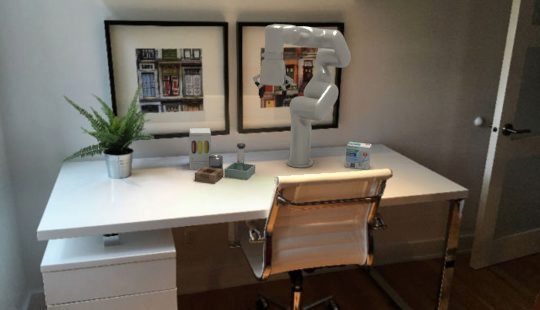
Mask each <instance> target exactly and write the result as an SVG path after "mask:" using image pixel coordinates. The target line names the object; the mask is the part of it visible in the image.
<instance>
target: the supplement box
mask: <svg viewBox="0 0 540 310" xmlns="http://www.w3.org/2000/svg"><path fill="white" fill-rule="evenodd" d="M188 132H189V137H188V139H189V140H188V141H189V142H188V144H189V145H188V149H189V151H188V154H189V155H188V156H189V157H188V158H189V163H188V164H189V169H190V170H200V169H201V168H203V167H209V156H211V155H212V132H211V129H210V127H202V128H201V127H200V128H199V127H196V128H195V127H192V128H191V127H190V128H189V130H188Z"/></svg>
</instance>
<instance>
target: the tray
mask: <svg viewBox="0 0 540 310" xmlns="http://www.w3.org/2000/svg"><path fill="white" fill-rule="evenodd" d="M255 173H256V164H251V163H245V162H244V171H241V170H237V161H233V162H232V163H230V164H229V165H227V166H226V167H225V168H224V177H225V178H230V179H238V180H244V181H248V180H249V179H250V178H251V177H252V176H253V175H255Z"/></svg>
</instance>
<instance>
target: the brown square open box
mask: <svg viewBox="0 0 540 310" xmlns="http://www.w3.org/2000/svg"><path fill="white" fill-rule="evenodd" d="M223 178H224V168H223V169H218V168H211V167H203V168H201V169H197V171H195V172H194V181H195V182H199V183H205V184H206V183H207V184H214V185H215V184H217V182H219V181H220V180H221V179H223Z"/></svg>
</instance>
